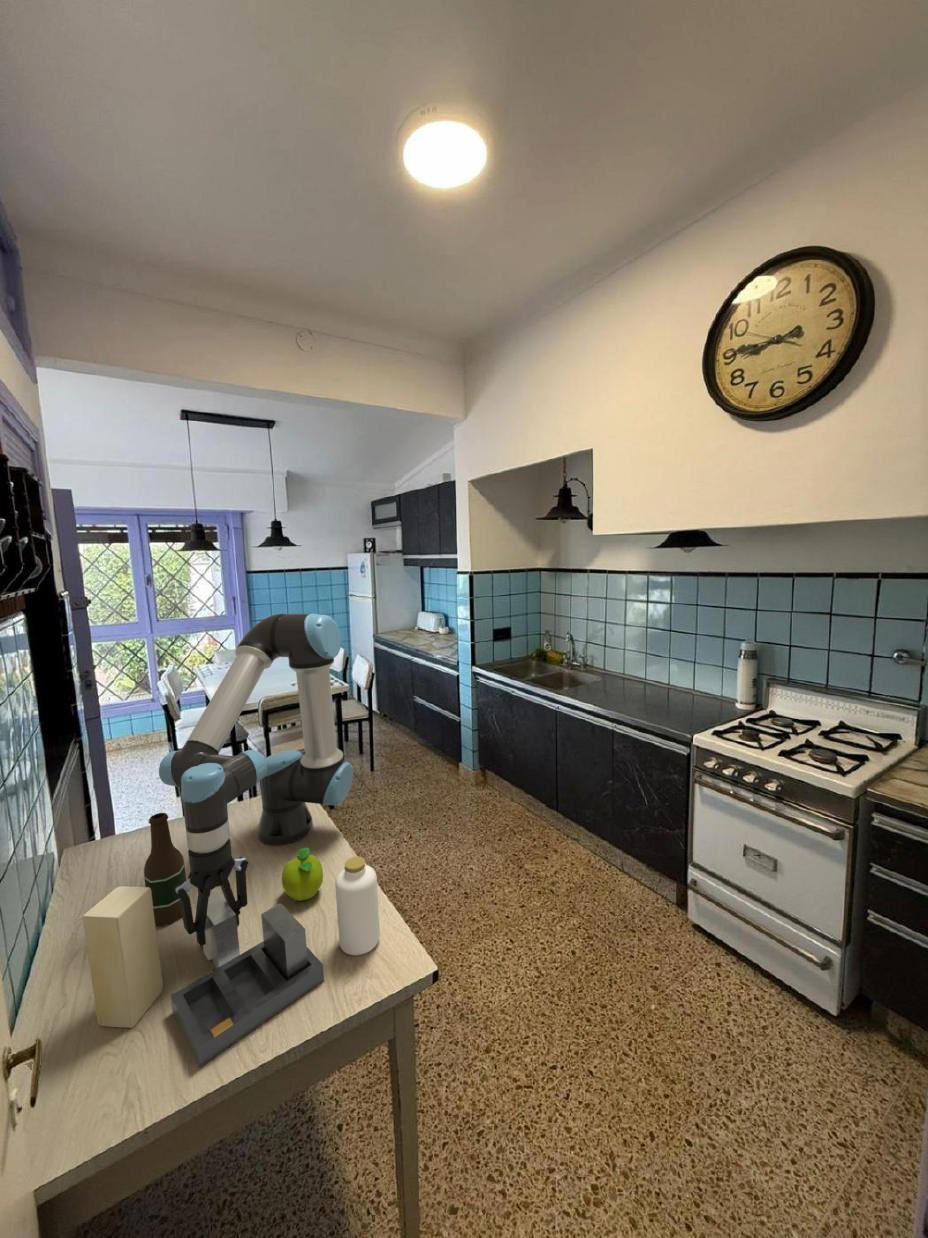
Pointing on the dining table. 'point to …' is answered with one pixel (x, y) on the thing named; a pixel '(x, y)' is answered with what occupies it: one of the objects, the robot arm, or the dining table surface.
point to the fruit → (302, 876)
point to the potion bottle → (357, 907)
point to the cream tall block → (123, 956)
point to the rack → (247, 988)
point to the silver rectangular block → (222, 930)
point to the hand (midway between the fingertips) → (220, 949)
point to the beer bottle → (164, 872)
